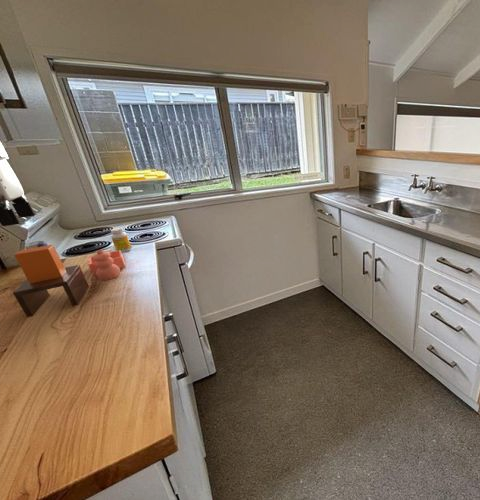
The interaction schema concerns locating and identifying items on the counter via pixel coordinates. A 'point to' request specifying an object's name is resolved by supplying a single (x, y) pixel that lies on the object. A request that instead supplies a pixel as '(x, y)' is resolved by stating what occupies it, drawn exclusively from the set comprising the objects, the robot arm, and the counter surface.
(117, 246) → the supplement bottle
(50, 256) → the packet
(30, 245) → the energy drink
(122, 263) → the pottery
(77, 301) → the shelf
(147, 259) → the counter surface
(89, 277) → the counter surface
